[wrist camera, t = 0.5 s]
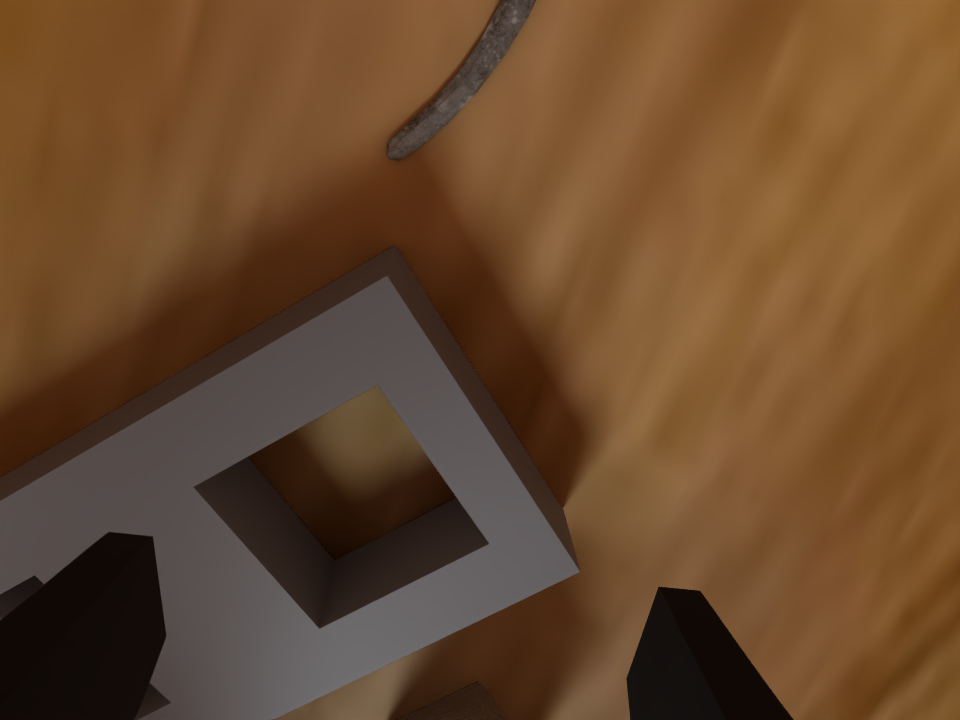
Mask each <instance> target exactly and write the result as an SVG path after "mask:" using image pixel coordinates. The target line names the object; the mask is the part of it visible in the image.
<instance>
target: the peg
mask: <svg viewBox="0 0 960 720" xmlns="http://www.w3.org/2000/svg"><path fill="white" fill-rule="evenodd" d="M396 720H509V719H508V717H507V716H506V715H505V714H504V712H503V711H502V710H501V709H500V707H499V706H498V705H497V704H496V702H495V701H494V700H493V699H492V697H491V696H490V695H489V694H488V692H487V691H486V690H485V689H484V687H483V686H482V685H481V684H480V682H479V681H478V682H476V683H474V684H471V685H469V686H467V687H465V688H463V689H461V690H459V691H456V692H454V693H452V694H450V695H448V696H446V697H444V698H441V699H439V700H437V701H435V702H433V703H431V704H429V705H426V706H424V707H422V708H420V709H418V710H416V711H414V712H411V713H409V714H407V715H405V716H403V717H401V718H398V719H396Z"/></svg>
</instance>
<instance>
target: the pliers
mask: <svg viewBox="0 0 960 720" xmlns="http://www.w3.org/2000/svg"><path fill="white" fill-rule="evenodd" d="M535 1H536V0H502V1H501V3H500V5H499V7H498V9H497V10H496V12H495V14H494V16H493V18H492V20H491V22H490V23H489V25H488V27H487V29H486V31H485V33H484V34H483V36H482V38H481V40H480V41H479V42H478V44H477V45H476V47H475V48H474V50H473V51H472V53H471V54H470V56H469V57H468V59H467V60H466V62H465V63H464V65H463V66H462V68H461V69H460V71H459V72H458V74H457V75H456V76H455V77H454V78H453V79H452V80H451V81H450V83H449V84H448V85H447V86H446V87H445V88H444V89H443V90H442V92H441V93H440V94H439V95H438V96H437V97H436V98H435V99H434V100H433V102H432V103H431V104H430V105H428V106H427V107H426V108H425V109H424V110H423V111H422V112H421V113H419V114H418V115H417V116H416V117H415V118H414V119H413V120H411V121H410V122H409V123H408V124H407V125H406V126H405V127H404V128H403V129H402V130H401V131H400V132H398V133H397V134H396V135H395V136H394V137H393V138H392V139H391V140H390V141H389V142H388V144H387V152H386V155H387V156H388V157H389V159H394V160H401V159H402V158H404V157H406V156H407V155H409V154H410V153H412V152H413V151H415V150H416V149H418V148H419V147H421V146H422V145H423V144H424V143H425V142H427V141H428V140H429V139H430V138H431V137H432V136H434V135H435V134H436V133H437V132H438V131H439V130H441V129H442V128H443V127H444V126H445V125H446V124H448V123H449V122H450V121H451V119H452V118H453V117H454V116H455V115H456V114H457V113H458V112H459V111H460V110H461V109H462V108H463V107H464V105H465V104H466V103H467V102H468V101H469V100H470V99H471V98H472V97H473V96H474V95H475V94H476V93H477V91H478V90H479V89H480V87H481V86H482V85H483V83H484V82H485V81H486V79H487V78H488V77H489V75H490V74H491V73H492V71H493V70H494V69H495V67H496V66H497V64H498V63H499V62H500V60H501V59H502V58H503V56H504V55H505V53H506V52H507V50H508V49H509V47H510V45H511V44H512V42H513V40H514V39H515V37H516V36H517V34H518V32H519V31H520V29H521V27H522V26H523V24H524V23H525V21H526V19H527V18H528V16H529V14H530V12H531V10H532V7H533V5H534V3H535Z"/></svg>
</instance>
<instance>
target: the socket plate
mask: <svg viewBox="0 0 960 720" xmlns="http://www.w3.org/2000/svg"><path fill="white" fill-rule="evenodd" d="M376 385H378V387H379V388H380V390H381V391H382V393H383V394H384V395H385V397H386V398H387V400H388V401H389V402H390V404H391V405H392V407H393V408H394V410H395V411H396V412H397V414H398V415H399V417H400V418H401V419H402V421H403V422H404V424H405V425H406V427H407V428H408V429H409V431H410V432H411V434H412V435H413V436H414V438H415V439H416V441H417V442H418V443H419V445H420V446H421V448H422V449H423V451H424V452H425V453H426V455H427V456H428V458H429V459H430V460H431V462H432V463H433V465H434V466H435V468H436V469H437V470H438V472H439V473H440V475H441V476H442V477H443V479H444V480H445V482H446V483H447V485H448V486H449V487H450V489H451V490H452V492H453V493H454V494H455V496H456V498H454V499H452V500H450V501H448V502H446V503H445V504H443V505H441V506H439V507H437V508H435V509H433V510H431V511H429V512H427V513H425V514H423V515H421V516H419V517H417V518H415V519H414V520H412V521H410V522H408V523H406V524H404V525H402V526H400V527H398V528H396V529H394V530H392V531H390V532H388V533H386V534H384V535H383V536H381V537H379V538H377V539H375V540H373V541H371V542H369V543H367V544H365V545H363V546H361V547H359V548H357V549H355V550H353V551H352V552H350V553H348V554H346V555H344V556H342V557H340V558H338V559H336V560H333V558H332V557H331V556H330V555H329V554H328V552H327V551H326V550H325V549H324V548H323V546H322V545H321V544H320V543H319V541H318V540H317V539H316V538H315V537H314V535H313V534H312V533H311V532H310V531H309V529H308V528H307V527H306V526H305V525H304V523H303V522H302V521H301V520H300V519H299V517H298V516H297V515H296V514H295V513H294V511H293V510H292V509H291V508H290V507H289V505H288V504H287V503H286V502H285V501H284V499H283V498H282V497H281V496H280V495H279V493H278V492H277V491H276V490H275V489H274V487H273V486H272V485H271V484H270V483H269V481H268V480H267V479H266V478H265V477H264V475H263V474H262V473H261V472H260V471H259V469H258V468H257V467H256V466H255V465H254V463H253V462H252V461H251V460H250V459H249V457H248V456H250V455H252V454H254V453H255V452H257V451H259V450H261V449H263V448H264V447H266V446H268V445H270V444H272V443H273V442H275V441H277V440H279V439H281V438H282V437H284V436H286V435H288V434H290V433H291V432H293V431H295V430H297V429H299V428H300V427H302V426H304V425H306V424H308V423H309V422H311V421H313V420H315V419H317V418H318V417H320V416H322V415H324V414H326V413H327V412H329V411H331V410H333V409H335V408H336V407H338V406H340V405H342V404H343V403H345V402H347V401H349V400H351V399H352V398H354V397H356V396H358V395H360V394H361V393H363V392H365V391H367V390H369V389H370V388H372V387H374V386H376ZM108 532H115V533H125V534H135V535H145V536H153V540H154V548H155V555H156V562H157V570H158V577H159V584H160V592H161V599H162V607H163V614H164V621H165V629H166V639H165V642H164V644H163V647H162V650H161V653H160V656H159V658H158V661H157V664H156V667H155V669H154V672H153V675H152V677H151V680H150V683H149V685H148V688H147V690H146V693H145V695H144V698H143V701H142V703H141V706H140V708H139V711H138V713H137V715H136V717H135V719H134V720H274V719H276V718H278V717H280V716H282V715H284V714H287V713H289V712H291V711H293V710H295V709H297V708H299V707H301V706H303V705H305V704H307V703H309V702H311V701H314V700H316V699H318V698H320V697H322V696H324V695H326V694H328V693H330V692H332V691H334V690H336V689H338V688H340V687H343V686H345V685H347V684H349V683H351V682H353V681H355V680H357V679H359V678H361V677H363V676H365V675H367V674H370V673H372V672H374V671H376V670H378V669H380V668H382V667H384V666H386V665H388V664H390V663H392V662H394V661H396V660H399V659H401V658H403V657H405V656H407V655H409V654H411V653H413V652H415V651H417V650H419V649H421V648H423V647H426V646H428V645H430V644H432V643H434V642H436V641H438V640H440V639H442V638H444V637H446V636H448V635H450V634H453V633H455V632H457V631H459V630H461V629H463V628H465V627H467V626H469V625H471V624H473V623H475V622H477V621H479V620H482V619H484V618H486V617H488V616H490V615H492V614H494V613H496V612H498V611H500V610H502V609H504V608H506V607H509V606H511V605H513V604H515V603H517V602H519V601H521V600H523V599H525V598H527V597H529V596H531V595H533V594H535V593H538V592H540V591H542V590H544V589H546V588H548V587H550V586H552V585H554V584H556V583H558V582H560V581H562V580H565V579H567V578H569V577H571V576H573V575H575V574H577V573H579V572H580V569H579V565H578V562H577V558H576V554H575V551H574V547H573V543H572V540H571V536H570V532H569V529H568V525H567V522H566V518H565V514H564V511H563V508H562V507H561V505H560V504H559V502H558V501H557V499H556V497H555V496H554V494H553V493H552V491H551V490H550V488H549V486H548V485H547V483H546V482H545V480H544V479H543V477H542V475H541V474H540V472H539V471H538V469H537V467H536V466H535V464H534V463H533V461H532V460H531V458H530V456H529V455H528V453H527V452H526V450H525V449H524V447H523V445H522V444H521V442H520V441H519V439H518V438H517V436H516V434H515V433H514V431H513V430H512V428H511V427H510V425H509V423H508V422H507V420H506V419H505V417H504V416H503V414H502V412H501V411H500V409H499V408H498V406H497V405H496V403H495V401H494V400H493V398H492V397H491V395H490V394H489V392H488V390H487V389H486V387H485V386H484V384H483V383H482V381H481V379H480V378H479V376H478V375H477V373H476V372H475V370H474V368H473V367H472V365H471V364H470V362H469V361H468V359H467V357H466V356H465V354H464V353H463V351H462V350H461V348H460V346H459V345H458V343H457V342H456V340H455V339H454V337H453V335H452V334H451V332H450V331H449V329H448V327H447V326H446V324H445V323H444V321H443V320H442V318H441V316H440V315H439V313H438V312H437V310H436V309H435V307H434V305H433V304H432V302H431V301H430V299H429V298H428V296H427V294H426V293H425V291H424V290H423V288H422V287H421V285H420V283H419V282H418V280H417V279H416V277H415V276H414V274H413V272H412V271H411V269H410V268H409V266H408V265H407V263H406V261H405V260H404V258H403V257H402V255H401V254H400V252H399V250H398V249H397V247H396V246H395V245H394V246H392V247H391V248H389V249H387V250H386V251H384V252H382V253H380V254H379V255H377V256H375V257H374V258H372V259H370V260H369V261H367V262H365V263H363V264H362V265H360V266H358V267H357V268H355V269H353V270H352V271H350V272H348V273H347V274H345V275H343V276H341V277H340V278H338V279H336V280H335V281H333V282H331V283H330V284H328V285H326V286H324V287H323V288H321V289H319V290H318V291H316V292H314V293H313V294H311V295H309V296H307V297H306V298H304V299H302V300H301V301H299V302H297V303H296V304H294V305H292V306H291V307H289V308H287V309H285V310H284V311H282V312H280V313H279V314H277V315H275V316H274V317H272V318H270V319H268V320H267V321H265V322H263V323H262V324H260V325H258V326H257V327H255V328H253V329H252V330H250V331H248V332H246V333H245V334H243V335H241V336H240V337H238V338H236V339H235V340H233V341H231V342H229V343H228V344H226V345H224V346H223V347H221V348H219V349H218V350H216V351H214V352H213V353H211V354H209V355H207V356H206V357H204V358H202V359H201V360H199V361H197V362H196V363H194V364H192V365H190V366H189V367H187V368H185V369H184V370H182V371H180V372H179V373H177V374H175V375H174V376H172V377H170V378H168V379H167V380H165V381H163V382H162V383H160V384H158V385H157V386H155V387H153V388H151V389H150V390H148V391H146V392H145V393H143V394H141V395H140V396H138V397H136V398H134V399H133V400H131V401H129V402H128V403H126V404H124V405H123V406H121V407H119V408H118V409H116V410H114V411H112V412H111V413H109V414H107V415H106V416H104V417H102V418H101V419H99V420H97V421H95V422H94V423H92V424H90V425H89V426H87V427H85V428H84V429H82V430H80V431H79V432H77V433H75V434H73V435H72V436H70V437H68V438H67V439H65V440H63V441H62V442H60V443H58V444H56V445H55V446H53V447H51V448H50V449H48V450H46V451H45V452H43V453H41V454H40V455H38V456H36V457H34V458H33V459H31V460H29V461H28V462H26V463H24V464H23V465H21V466H19V467H17V468H16V469H14V470H12V471H11V472H9V473H7V474H6V475H4V476H2V477H0V620H1V619H2V618H3V617H4V616H6V615H7V614H8V613H9V612H11V611H12V610H13V609H14V608H16V607H17V606H18V605H19V604H21V603H22V602H23V601H24V600H25V599H27V598H28V597H29V596H30V595H32V594H33V593H34V592H35V591H36V590H38V589H39V588H40V587H41V586H43V585H44V584H45V583H46V582H47V581H49V580H50V579H51V578H52V577H53V576H55V575H56V574H57V573H58V572H59V571H61V570H62V569H63V568H64V567H66V566H67V565H68V564H69V563H70V562H72V561H73V560H74V559H75V558H76V557H78V556H79V555H80V554H81V553H82V552H84V551H85V550H86V549H87V548H89V547H90V546H91V545H92V544H94V543H95V542H96V541H97V540H99V539H100V538H101V537H102V536H104V535H105V534H106V533H108Z"/></svg>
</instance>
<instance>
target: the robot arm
mask: <svg viewBox="0 0 960 720" xmlns="http://www.w3.org/2000/svg"><path fill="white" fill-rule="evenodd" d="M165 639H166V629H165V621H164V614H163V607H162V599H161V592H160V584H159V577H158V570H157V562H156V555H155V548H154V540H153V536H145V535H135V534H125V533H115V532H108V533H106V534H105V535H104V536H102V537H101V538H100V539H99V540H97V541H96V542H95V543H94V544H92V545H91V546H90V547H89V548H87V549H86V550H85V551H84V552H82V553H81V554H80V555H79V556H78V557H76V558H75V559H74V560H73V561H72V562H70V563H69V564H68V565H67V566H66V567H64V568H63V569H62V570H61V571H59V572H58V573H57V574H56V575H55V576H53V577H52V578H51V579H50V580H49V581H47V582H46V583H45V584H44V585H43V586H41V587H40V588H39V589H38V590H36V591H35V592H34V593H33V594H32V595H30V596H29V597H28V598H27V599H25V600H24V601H23V602H22V603H21V604H19V605H18V606H17V607H16V608H14V609H13V610H12V611H11V612H9V613H8V614H7V615H6V616H4V617H3V618H2V619H1V620H0V720H134V719H135V717H136V715H137V713H138V711H139V708H140V706H141V703H142V701H143V698H144V695H145V693H146V690H147V688H148V685H149V683H150V680H151V677H152V675H153V672H154V669H155V667H156V664H157V661H158V658H159V656H160V653H161V650H162V647H163V644H164V642H165ZM627 689H628V699H629V709H630V720H793V718H792V717H791V716H790V714H789V713H788V712H787V710H786V709H785V708H784V707H783V705H782V704H781V703H780V701H779V700H778V699H777V697H776V696H775V695H774V693H773V692H772V690H771V689H770V688H769V686H768V685H767V684H766V682H765V681H764V680H763V678H762V677H761V675H760V674H759V673H758V671H757V670H756V668H755V667H754V666H753V664H752V663H751V661H750V660H749V659H748V657H747V656H746V655H745V653H744V652H743V650H742V649H741V648H740V646H739V645H738V643H737V642H736V640H735V639H734V638H733V636H732V635H731V633H730V632H729V631H728V629H727V628H726V626H725V625H724V623H723V622H722V621H721V619H720V618H719V616H718V615H717V614H716V612H715V611H714V609H713V608H712V607H711V605H710V604H709V602H708V601H707V600H706V598H705V597H704V596H703V594H702V593H701V592H700V591H697V590H687V589H677V588H667V587H658V590H657V593H656V596H655V599H654V602H653V604H652V607H651V610H650V613H649V616H648V619H647V622H646V625H645V627H644V630H643V633H642V636H641V639H640V642H639V645H638V647H637V650H636V653H635V656H634V659H633V662H632V665H631V667H630V670H629V673H628V676H627Z"/></svg>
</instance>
